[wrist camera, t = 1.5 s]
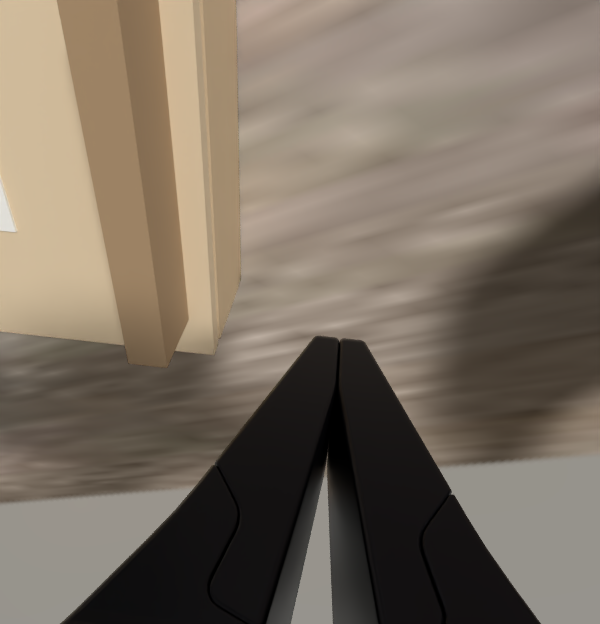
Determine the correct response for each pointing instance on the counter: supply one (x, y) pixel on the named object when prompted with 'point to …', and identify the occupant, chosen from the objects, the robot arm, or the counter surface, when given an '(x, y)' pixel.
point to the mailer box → (222, 147)
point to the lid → (106, 176)
